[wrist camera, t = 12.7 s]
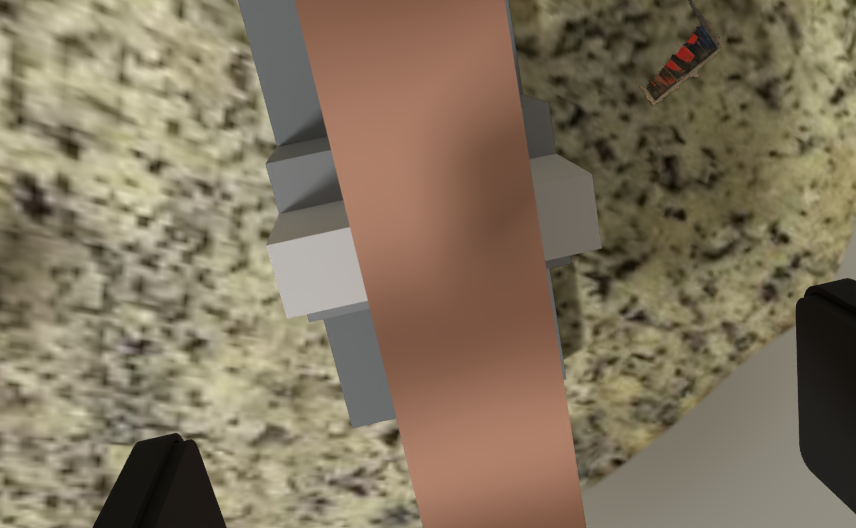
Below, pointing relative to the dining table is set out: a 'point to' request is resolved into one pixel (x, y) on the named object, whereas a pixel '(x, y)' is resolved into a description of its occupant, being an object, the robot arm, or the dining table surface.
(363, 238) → the beam
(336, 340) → the ridge stand
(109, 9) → the dining table surface
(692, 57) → the matchbox
